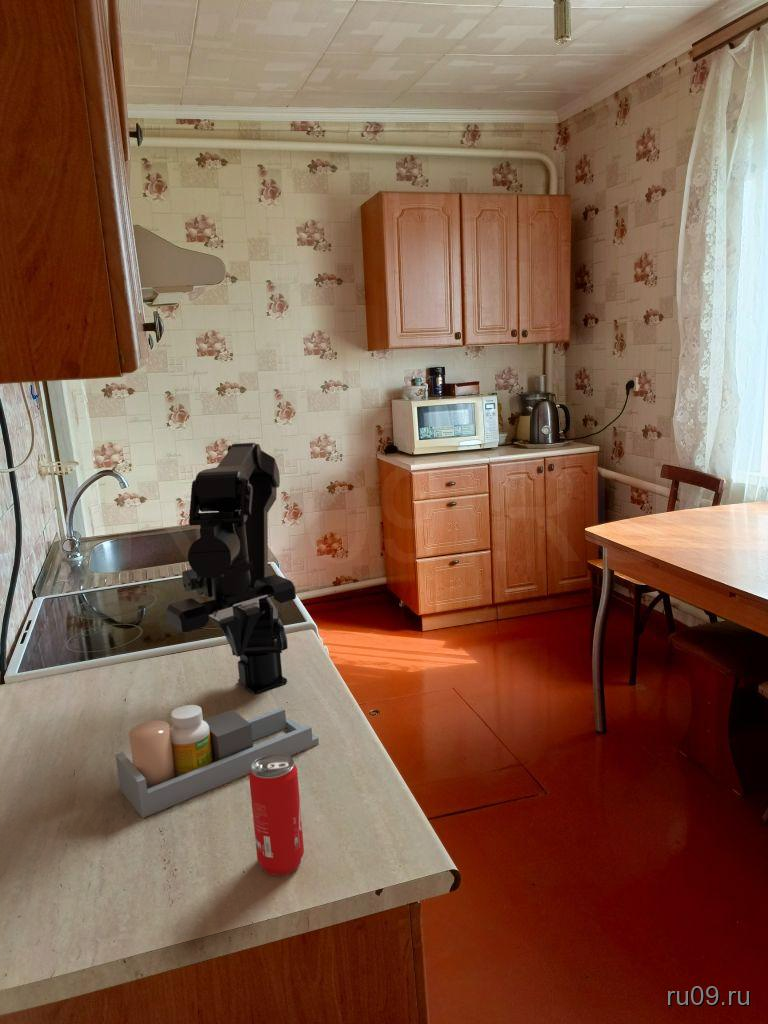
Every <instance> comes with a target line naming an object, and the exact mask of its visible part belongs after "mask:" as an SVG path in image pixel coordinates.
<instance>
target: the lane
mask: <svg viewBox="0 0 768 1024" xmlns="http://www.w3.org/2000/svg"><path fill="white" fill-rule="evenodd" d="M286 716H287V714H286V709H285V708H283V707H279V708H276V709H274V710H271V711H268V712H265V713H262V714H260V715H257V716H255V717H252V718H249V719H245V720H246V721H248V722H249V723H250V724H251V729H252V739H253V742H255V741H256V740H259V739H261V738H264V737H267V736H270V735H272V734H274V733H277V732H279V731H282V730H285V729H287V730H289V731H290V732H286V733H285V734H282V735H279V736H277V737H274V738H271V739H269V740H266V741H265V742H262V743H259V744H257V745H253V747H252V748H249V749H247V750H244V751H241V752H239V753H236V754H234V755H231V756H229V757H226V758H224V759H221V760H219V761H216V762H214V763H211V764H209V765H206V766H204V767H201V768H199V769H196V770H194V771H191V772H189V773H186V774H184V775H181V776H179V777H176V778H174V779H171V780H169V781H166V782H164V783H161V784H158V785H156V786H153V787H151V788H148V789H147V785H146V779H145V778H144V776H143V775H142V774H141V773H140V772H139V771H138V769H137V768H136V767H135V766H134V765H133V761H132V760H130V759H129V758H128V756H127V755H126V754H125V753H124V752H123V751H122V752H119V753H117V754H115V755H114V756H115V763H116V769H117V777H118V786H119V790H120V791H121V793H122V794H124V796H125V797H126V799H127V801H129V803H130V804H131V806H133V808H134V809H135V810H136V812H137V813H138V814H139V815H140V817H141V818H142V819H144V818H147V817H148V816H151V815H154V814H156V813H158V812H161V811H163V810H165V809H168V808H171V807H173V806H175V805H178V804H180V803H182V802H184V801H187V800H190V799H191V798H194V797H197V796H200V795H201V794H204V793H206V792H209V791H211V790H213V789H215V788H218V787H220V786H222V785H225V784H227V783H230V782H233V781H235V780H237V779H239V778H242V777H245V776H246V775H249V773H250V771H251V765H252V763H253V762H254V761H255V760H257V759H258V758H260V757H262V756H265V755H269V754H285V755H288V756H290V757H292V756H294V755H297V754H299V753H302V752H304V751H306V750H308V748H309V747H311V748H313V747H315V746H314V745H316V746H318V745H319V744H320V741H319V737H318V736H316V735H315V734H313V731H312V730H313V729H312V727H311V726H310V725H308V724H307V725H305V726H302V725H301V724H299V723H298V722H296V721H295V720H293V719H292V718H290V717H286ZM317 744H318V745H317ZM312 746H313V747H312ZM305 749H306V750H305ZM309 749H310V748H309ZM303 750H304V751H303ZM301 751H302V752H301ZM296 753H297V754H296Z"/></svg>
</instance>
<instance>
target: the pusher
mask: <svg viewBox="0 0 768 1024" xmlns="http://www.w3.org/2000/svg"><path fill="white" fill-rule="evenodd" d="M203 720H204V721H205V722H206V723H207V724H208V725H209V730H210V738H211V747H212V756H213V763H214V762H216V761H219V760H221V759H224V758H226V757H229V756H231V755H234V754H236V753H239V752H241V751H244V750H247V749H249V748H252V747H254V741H253V739H252V729H251V724H250V723H249V722H248V721H246V720H247V719H245V717H243V716H241V715H240V714H238V713H237V712H236V711H234V710H233V709H230V710H227V711H224V712H221V713H219V714H216V715H213V716H210V717H208V718H205V719H204V718H203Z"/></svg>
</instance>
